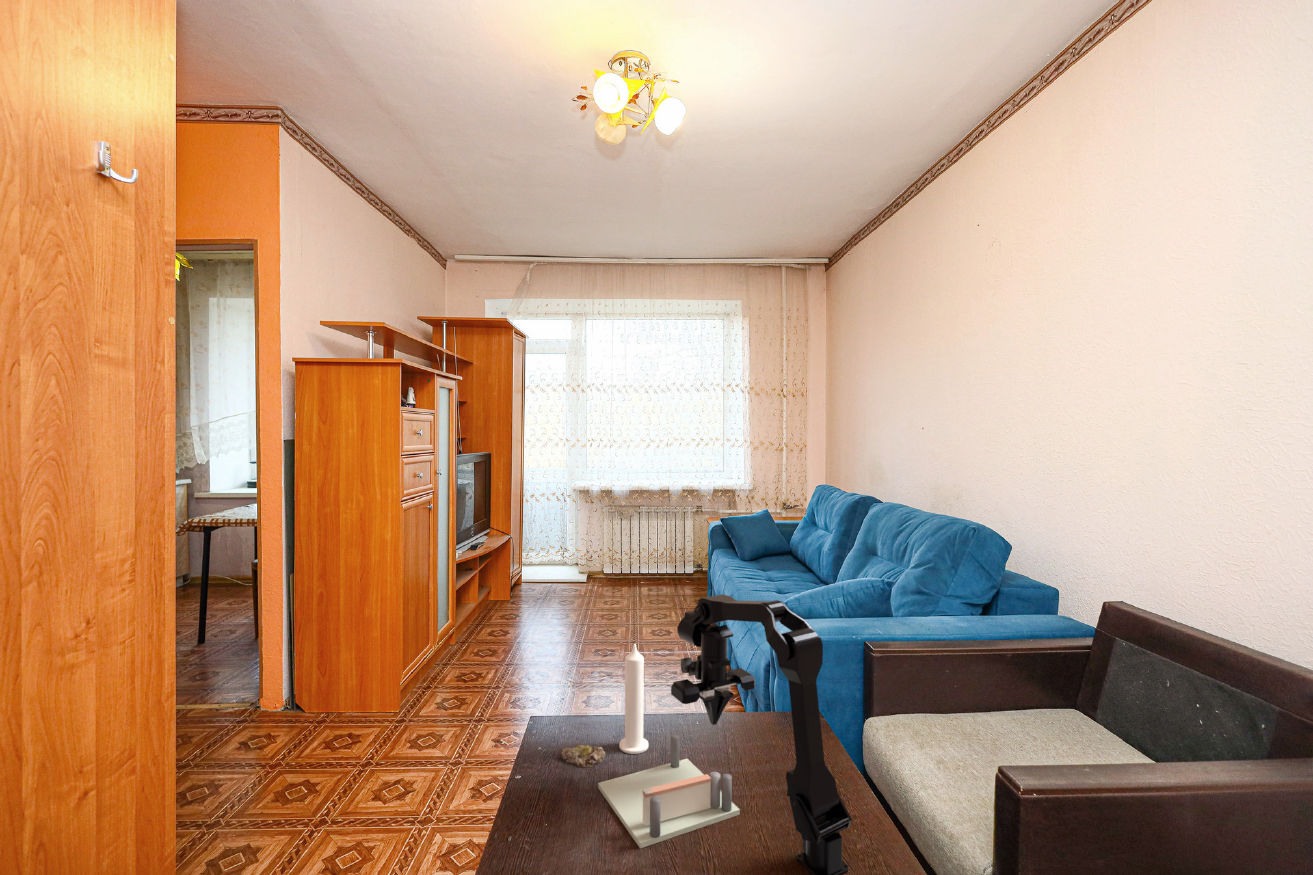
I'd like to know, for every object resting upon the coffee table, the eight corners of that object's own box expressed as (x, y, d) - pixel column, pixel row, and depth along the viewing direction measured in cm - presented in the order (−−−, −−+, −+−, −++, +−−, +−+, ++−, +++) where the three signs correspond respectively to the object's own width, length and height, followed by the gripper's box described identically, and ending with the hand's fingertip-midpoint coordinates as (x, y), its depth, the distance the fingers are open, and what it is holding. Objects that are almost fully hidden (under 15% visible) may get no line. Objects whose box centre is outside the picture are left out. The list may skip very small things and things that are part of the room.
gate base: (740, 814, 118) (740, 776, 118) (640, 848, 108) (640, 807, 108) (687, 762, 137) (687, 730, 137) (598, 787, 127) (598, 752, 127)
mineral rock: (609, 740, 142) (602, 748, 135) (609, 761, 141) (601, 769, 133) (566, 739, 144) (556, 746, 136) (565, 759, 142) (555, 767, 135)
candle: (615, 742, 145) (615, 640, 145) (641, 736, 148) (642, 637, 148) (625, 756, 139) (626, 650, 139) (653, 750, 142) (653, 646, 142)
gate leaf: (716, 800, 120) (717, 770, 120) (722, 806, 118) (722, 776, 118) (641, 819, 114) (642, 788, 114) (646, 826, 112) (646, 795, 112)
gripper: (728, 636, 142) (728, 701, 142) (659, 648, 133) (659, 717, 133) (756, 651, 132) (756, 720, 132) (684, 665, 123) (683, 739, 123)
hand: (713, 723), depth 130 cm, fingers closed
